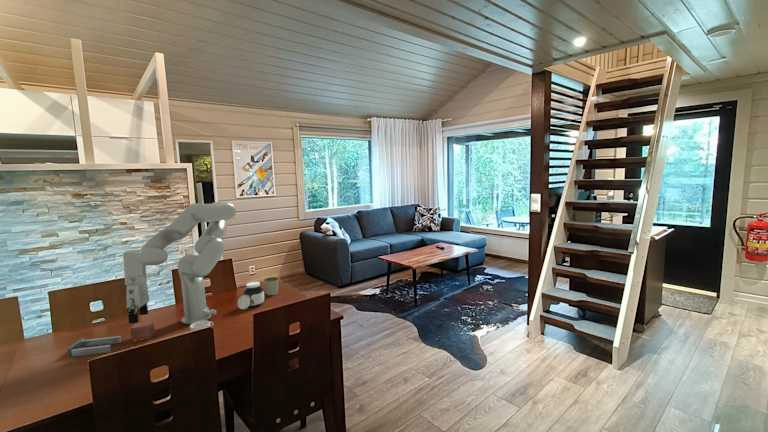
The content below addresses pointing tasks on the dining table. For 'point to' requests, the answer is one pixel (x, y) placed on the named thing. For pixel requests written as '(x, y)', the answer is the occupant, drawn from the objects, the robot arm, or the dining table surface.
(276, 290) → the flower pot
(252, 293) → the spread jar
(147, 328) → the lock block
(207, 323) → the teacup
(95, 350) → the hitch channel
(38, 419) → the dining table surface
